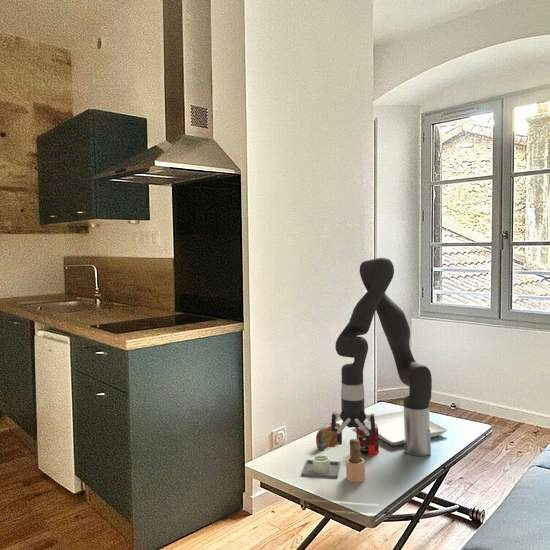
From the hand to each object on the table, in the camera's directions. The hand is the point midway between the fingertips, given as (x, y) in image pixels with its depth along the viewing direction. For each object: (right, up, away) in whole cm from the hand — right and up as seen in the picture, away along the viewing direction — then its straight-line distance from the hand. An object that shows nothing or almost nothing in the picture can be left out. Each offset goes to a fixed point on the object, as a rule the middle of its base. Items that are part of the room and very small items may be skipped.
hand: (353, 444), depth 164 cm
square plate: (+26, -10, +42) cm, 50 cm away
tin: (-5, -11, +29) cm, 32 cm away
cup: (+1, -12, 0) cm, 12 cm away
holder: (-10, -11, +8) cm, 17 cm away
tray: (-10, -12, +8) cm, 17 cm away
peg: (+1, -12, 0) cm, 12 cm away
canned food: (+9, -11, +21) cm, 25 cm away
